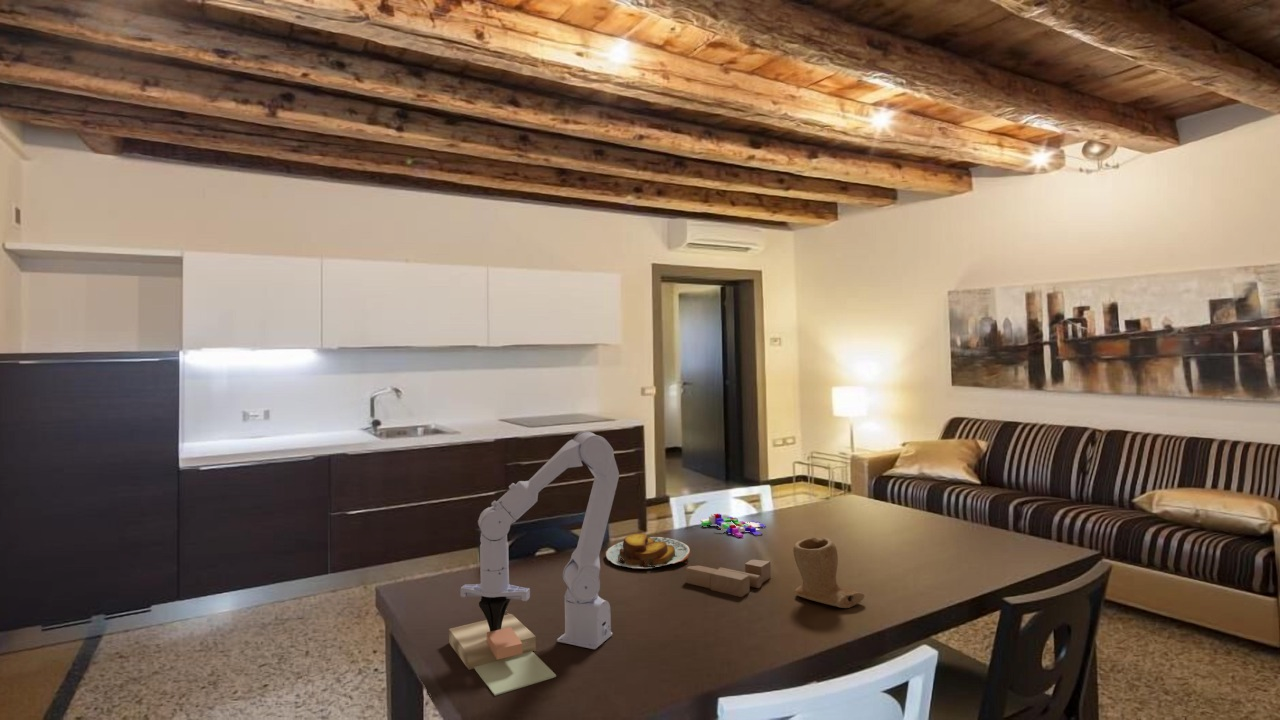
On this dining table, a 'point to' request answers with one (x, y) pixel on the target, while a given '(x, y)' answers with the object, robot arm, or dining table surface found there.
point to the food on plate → (647, 551)
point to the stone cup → (822, 574)
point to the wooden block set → (730, 577)
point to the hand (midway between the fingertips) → (495, 632)
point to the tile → (504, 643)
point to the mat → (514, 672)
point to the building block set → (732, 528)
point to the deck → (474, 641)
